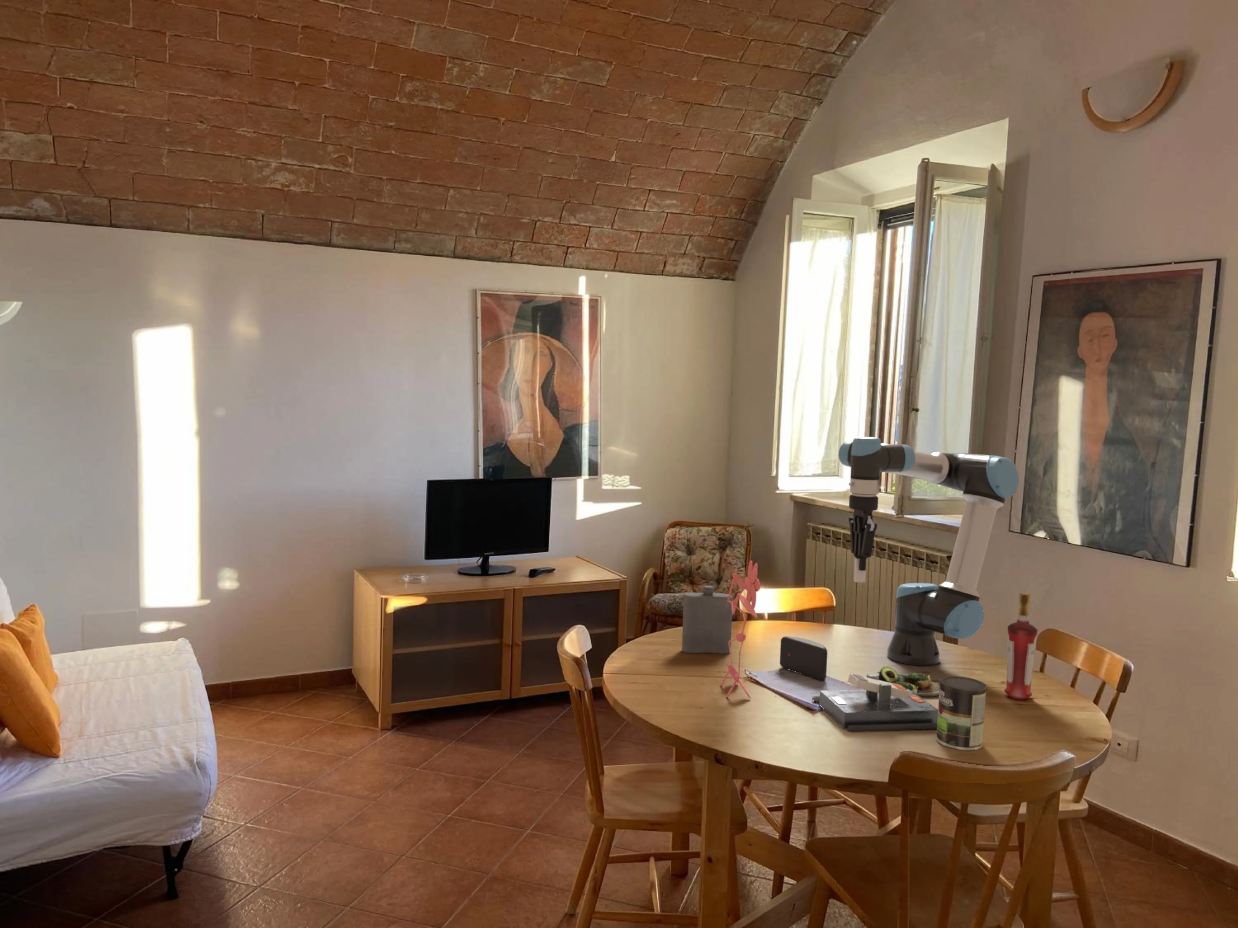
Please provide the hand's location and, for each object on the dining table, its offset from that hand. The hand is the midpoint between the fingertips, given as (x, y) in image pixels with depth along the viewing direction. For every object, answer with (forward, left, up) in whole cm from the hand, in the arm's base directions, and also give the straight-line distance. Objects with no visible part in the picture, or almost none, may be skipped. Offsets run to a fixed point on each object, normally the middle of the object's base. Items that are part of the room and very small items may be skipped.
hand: (859, 581), depth 249 cm
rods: (+4, +21, -29) cm, 36 cm away
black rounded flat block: (+10, -12, -30) cm, 34 cm away
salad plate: (-15, +1, -30) cm, 33 cm away
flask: (+32, -36, -30) cm, 57 cm away
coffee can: (-9, +40, -30) cm, 50 cm away
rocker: (+3, +22, -22) cm, 31 cm away
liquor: (-42, +11, -30) cm, 52 cm away
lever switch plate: (+3, +22, -29) cm, 37 cm away
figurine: (+30, +2, -30) cm, 42 cm away
